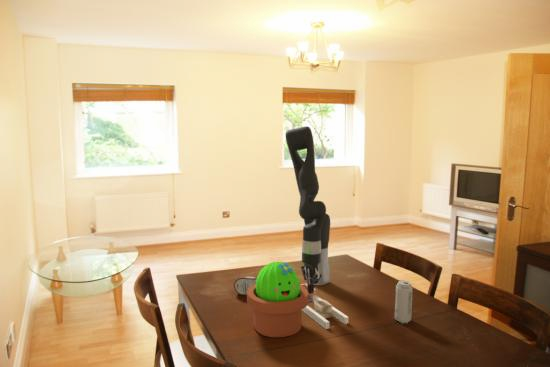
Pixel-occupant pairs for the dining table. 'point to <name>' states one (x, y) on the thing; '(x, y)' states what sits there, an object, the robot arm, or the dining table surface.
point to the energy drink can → (403, 301)
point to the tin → (244, 283)
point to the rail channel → (318, 317)
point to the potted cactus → (277, 300)
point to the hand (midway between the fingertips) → (310, 292)
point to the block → (323, 308)
